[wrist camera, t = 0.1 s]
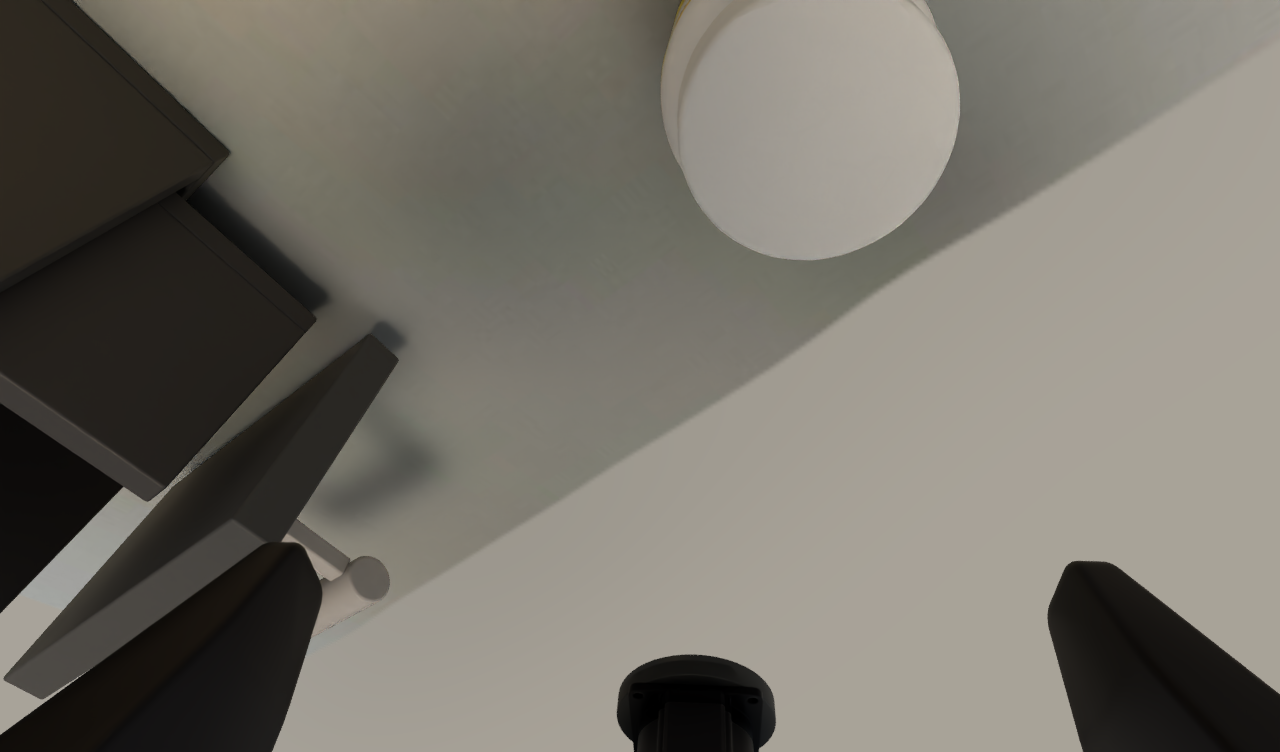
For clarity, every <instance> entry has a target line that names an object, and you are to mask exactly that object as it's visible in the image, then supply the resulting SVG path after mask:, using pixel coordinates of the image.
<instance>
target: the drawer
mask: <svg viewBox="0 0 1280 752" xmlns="http://www.w3.org/2000/svg"><path fill="white" fill-rule="evenodd" d="M315 322H316V317H315V316H314V315H313V314H311V313H310V312H309V311H308V310H307V309H306V308H305V307H304V306H303V305H301V304H300V303H299V302H298V301H297V300H296V299H295V298H294V297H292V296H291V295H290V294H289V293H288V292H287V291H286V290H285V289H283V288H282V287H281V286H280V285H279V284H278V283H277V282H276V281H274V280H273V279H272V278H271V277H270V276H269V275H268V274H267V273H266V272H264V271H263V270H262V269H261V268H260V267H259V266H258V265H257V264H255V263H254V262H253V261H252V260H251V259H250V258H249V257H248V256H246V255H245V254H244V253H243V252H242V251H241V250H240V249H239V248H238V247H236V246H235V245H234V244H233V243H232V242H231V241H230V240H229V239H227V238H226V237H225V236H224V235H223V234H222V233H221V232H220V231H218V230H217V229H216V228H215V227H214V226H213V225H212V224H211V223H210V222H208V221H207V220H206V219H205V218H204V217H203V216H202V215H201V214H199V213H198V212H197V211H196V210H195V209H194V208H193V207H192V206H190V205H189V204H188V203H187V202H186V201H185V200H184V199H183V198H182V197H180V196H179V195H178V194H177V193H176V192H175V193H173V194H171V195H169V196H168V197H166V198H164V199H162V200H161V201H159V202H157V203H155V204H154V205H152V206H150V207H148V208H147V209H145V210H143V211H142V212H140V213H138V214H136V215H135V216H133V217H131V218H129V219H128V220H126V221H124V222H122V223H121V224H119V225H117V226H115V227H114V228H112V229H110V230H108V231H107V232H105V233H103V234H101V235H100V236H98V237H96V238H95V239H93V240H91V241H89V242H88V243H86V244H84V245H82V246H81V247H79V248H77V249H75V250H74V251H72V252H70V253H68V254H67V255H65V256H63V257H61V258H60V259H58V260H56V261H54V262H53V263H51V264H49V265H47V266H46V267H44V268H42V269H41V270H39V271H37V272H35V273H34V274H32V275H30V276H28V277H27V278H25V279H23V280H21V281H20V282H18V283H16V284H14V285H13V286H11V287H9V288H7V289H6V290H4V291H2V292H0V613H1V612H2V611H3V610H4V609H5V608H6V607H7V606H8V605H9V604H10V603H11V602H12V601H13V600H14V599H15V598H16V597H17V596H18V595H19V594H20V593H21V591H22V590H23V589H24V588H25V587H26V586H27V585H28V584H29V583H30V582H31V581H32V580H33V579H34V578H35V577H36V576H37V575H38V574H39V573H40V572H41V571H42V570H43V569H44V568H45V567H46V566H47V565H48V564H49V563H50V562H51V561H52V560H53V559H54V558H55V557H56V555H57V554H58V553H59V552H60V551H61V550H62V549H63V548H64V547H65V546H66V545H67V544H68V543H69V542H70V541H71V540H72V539H73V538H74V537H75V536H76V535H77V534H78V533H79V532H80V531H81V530H82V529H83V528H84V527H85V526H86V525H87V524H88V523H89V522H90V520H91V519H92V518H93V517H94V516H95V515H96V514H97V513H98V512H99V511H100V510H101V509H102V508H103V507H104V506H105V505H106V504H107V503H108V502H109V501H110V500H111V499H112V498H113V497H114V496H115V495H116V494H117V493H118V492H119V491H120V490H121V489H122V488H123V487H125V488H127V489H128V490H130V491H131V492H133V493H134V494H136V495H137V496H139V497H140V498H141V499H143V500H144V501H150V500H151V499H152V498H154V497H155V496H156V495H158V494H159V493H160V492H161V491H163V490H164V489H165V488H166V487H167V486H168V485H169V484H170V483H171V482H172V481H173V480H174V478H175V477H176V476H177V475H178V474H179V473H180V472H181V471H182V470H183V468H184V467H185V466H186V465H187V464H188V463H189V462H190V461H191V460H192V458H193V457H194V456H195V455H196V454H197V453H198V452H199V451H200V450H201V448H202V447H203V446H204V445H205V444H206V443H207V442H208V441H209V440H210V438H211V437H212V436H213V435H214V434H215V433H216V432H217V431H218V430H219V428H220V427H221V426H222V425H223V424H224V423H225V422H226V421H227V420H228V418H229V417H230V416H231V415H232V414H233V413H234V412H235V411H236V409H237V408H238V407H239V406H240V405H241V404H242V403H243V402H244V401H245V399H246V398H247V397H248V396H249V395H250V394H251V393H252V392H253V391H254V389H255V388H256V387H257V386H258V385H259V384H260V383H261V382H262V381H263V379H264V378H265V377H266V376H267V375H268V374H269V373H270V372H271V371H272V369H273V368H274V367H275V366H276V365H277V364H278V363H279V362H280V361H281V359H282V358H283V357H284V356H285V355H286V354H287V353H288V352H289V351H290V349H291V348H292V347H293V346H294V345H295V344H296V343H297V342H298V340H299V339H300V338H301V337H302V336H303V335H304V333H306V332H307V330H308V329H309V328H310V327H311V326H312V325H313V324H314V323H315ZM398 361H399V360H398V358H397V357H396V356H395V355H394V354H392V353H391V352H390V351H389V350H388V349H387V348H386V347H385V346H384V345H383V344H382V343H380V342H379V341H378V340H377V339H376V338H375V337H374V336H373V335H371V334H370V335H368V336H366V337H365V338H364V339H363V340H361V341H360V342H359V343H357V344H356V345H355V346H353V347H352V348H351V349H350V350H348V351H347V352H346V353H344V354H343V355H342V356H341V357H339V358H338V359H337V360H335V361H334V362H333V363H332V364H330V365H329V366H328V367H326V368H325V369H324V370H323V371H321V372H320V373H319V374H317V375H316V376H315V377H314V378H312V379H311V380H310V381H308V382H307V383H306V384H305V385H303V386H302V387H301V388H299V389H298V390H297V391H296V392H294V393H293V394H292V395H290V396H289V397H288V398H287V399H285V400H284V401H283V402H281V403H280V404H279V405H278V406H276V407H275V408H274V409H272V410H271V411H270V412H269V413H267V414H266V415H265V416H263V417H262V418H261V419H260V420H258V421H257V422H256V423H254V424H253V425H252V426H251V427H249V428H248V429H247V430H245V431H244V432H243V433H242V434H240V435H239V436H238V437H236V438H235V439H234V440H233V441H231V442H230V443H229V444H227V445H226V446H225V447H223V448H222V449H221V450H220V451H218V452H217V453H216V454H214V455H213V456H212V457H211V458H209V459H208V460H207V461H205V462H204V463H203V464H202V465H200V466H199V467H198V468H196V469H195V470H194V471H193V472H191V473H190V474H189V475H187V476H186V477H185V478H184V479H182V480H181V481H180V482H178V483H177V484H176V485H175V486H173V487H172V488H171V490H170V491H169V492H168V493H167V494H166V495H165V496H164V497H163V499H162V500H161V501H160V502H159V503H158V504H157V505H156V506H155V508H154V509H153V510H152V511H151V512H150V513H149V514H148V515H147V517H146V518H145V519H144V520H143V521H142V522H141V523H140V524H139V526H138V527H137V528H136V529H135V530H134V531H133V532H132V533H131V535H130V536H129V537H128V538H127V539H126V540H125V541H124V542H123V544H122V545H121V546H120V547H119V548H118V549H117V550H116V551H115V553H114V554H113V555H112V556H111V557H110V558H109V559H108V560H107V562H106V563H105V564H104V565H103V566H102V567H101V568H100V569H99V571H98V572H97V573H96V574H95V575H94V576H93V577H92V578H91V580H90V581H89V582H88V583H87V584H86V585H85V586H84V587H83V589H82V590H81V591H80V592H79V593H78V594H77V595H76V596H75V598H74V599H73V600H72V601H71V602H70V603H69V604H68V605H67V607H66V608H65V609H64V610H63V611H62V612H61V613H60V615H59V616H58V617H57V618H56V619H55V620H54V621H53V622H52V624H51V625H50V626H49V627H48V628H47V629H46V630H45V631H44V632H43V634H42V635H41V636H40V637H39V638H38V639H37V640H36V641H35V643H34V644H33V645H32V646H31V647H30V648H29V649H28V650H27V652H26V653H25V654H24V655H23V656H22V657H21V658H20V660H19V661H18V662H17V663H16V664H15V665H14V666H13V667H12V668H11V670H10V671H9V672H8V673H7V674H6V675H5V677H4V680H5V681H7V682H8V683H10V684H12V685H14V686H16V687H18V688H20V689H22V690H24V691H26V692H28V693H30V694H32V695H33V696H35V697H37V698H39V699H44V698H46V697H47V696H49V695H51V694H52V693H54V692H55V691H57V690H58V689H60V688H61V687H63V686H64V685H66V684H67V683H69V682H71V681H72V680H74V679H76V678H77V677H79V676H80V675H82V674H83V673H85V672H86V671H88V670H90V669H91V668H93V667H94V666H96V665H97V664H98V663H100V662H101V661H103V660H104V659H105V658H107V657H108V656H109V655H111V654H112V653H114V652H115V651H116V650H118V649H119V648H120V647H122V646H123V645H125V644H126V643H127V642H129V641H130V640H131V639H133V638H134V637H136V636H137V635H138V634H140V633H141V632H142V631H144V630H145V629H147V628H148V627H149V626H151V625H152V624H153V623H155V622H156V621H158V620H159V619H160V618H162V617H163V616H164V615H166V614H167V613H169V612H170V611H171V610H173V609H174V608H175V607H177V606H178V605H180V604H181V603H182V602H184V601H185V600H186V599H188V598H189V597H191V596H192V595H193V594H195V593H196V592H197V591H199V590H200V589H202V588H203V587H204V586H206V585H207V584H208V583H210V582H211V581H213V580H214V579H215V578H217V577H218V576H219V575H221V574H222V573H224V572H225V571H226V570H228V569H229V568H230V567H232V566H233V565H235V564H236V563H237V562H239V561H240V560H241V559H243V558H244V557H246V556H247V555H248V554H250V553H251V552H252V551H254V550H255V549H257V548H258V547H260V546H261V545H263V544H265V543H268V542H296V543H299V544H301V545H302V546H303V547H304V548H305V550H306V552H307V554H308V556H309V558H310V560H311V563H312V565H313V567H314V569H315V571H317V572H318V573H319V574H321V575H322V576H324V577H325V578H323V579H321V580H320V583H321V585H322V592H323V595H322V603H321V607H320V611H319V614H318V617H317V620H316V623H315V626H314V630H313V633H312V636H311V638H312V637H314V636H316V635H318V634H319V633H321V632H323V631H325V630H327V629H329V628H330V627H332V626H334V625H336V624H338V623H340V622H342V621H343V620H345V619H347V618H349V617H351V616H353V615H355V614H356V613H358V612H360V611H362V610H364V609H366V608H368V607H369V606H371V605H373V604H375V603H377V602H379V601H380V600H382V599H383V598H384V597H385V595H386V594H387V592H388V589H389V585H390V579H389V574H388V572H387V569H386V568H385V566H384V565H383V564H382V563H381V562H380V561H379V560H377V559H376V558H373V557H370V556H362V557H359V558H357V559H355V560H353V561H352V562H350V558H348V557H347V556H346V555H344V554H343V553H342V552H340V551H339V550H338V549H336V548H335V547H333V546H332V545H331V544H329V543H328V542H327V541H325V540H324V539H323V538H321V537H320V536H319V535H317V534H316V533H314V532H313V531H312V530H310V529H309V528H308V527H306V526H305V525H304V524H302V523H301V522H300V521H298V520H297V517H298V515H299V514H300V512H301V511H302V509H303V508H304V506H305V505H306V503H307V502H308V500H309V498H310V497H311V495H312V494H313V492H314V491H315V489H316V488H317V486H318V485H319V483H320V481H321V480H322V478H323V477H324V475H325V474H326V472H327V471H328V469H329V468H330V466H331V465H332V463H333V461H334V460H335V458H336V457H337V455H338V454H339V452H340V451H341V449H342V448H343V446H344V444H345V443H346V441H347V440H348V438H349V437H350V435H351V434H352V432H353V431H354V429H355V427H356V426H357V424H358V423H359V421H360V420H361V418H362V417H363V415H364V414H365V412H366V411H367V409H368V407H369V406H370V404H371V403H372V401H373V400H374V398H375V397H376V395H377V394H378V392H379V390H380V389H381V387H382V386H383V384H384V383H385V381H386V380H387V378H388V377H389V375H390V373H391V372H392V370H393V369H394V367H395V366H396V364H397V363H398ZM349 562H350V563H349Z"/></svg>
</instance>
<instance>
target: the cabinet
mask: <svg viewBox="0 0 1280 752" xmlns="http://www.w3.org/2000/svg"><path fill="white" fill-rule="evenodd" d="M228 155H229V151H228V150H227V149H226V148H225V147H224V146H223V145H222V144H220V143H219V142H218V141H217V140H216V139H215V138H214V137H213V136H212V135H211V134H210V133H209V132H208V131H207V130H206V129H205V128H204V127H203V126H202V125H201V124H199V123H198V122H197V121H196V120H195V119H194V118H193V117H192V116H191V115H190V114H189V113H188V112H187V111H186V110H185V109H184V108H183V107H182V106H181V105H180V104H178V103H177V102H176V101H175V100H174V99H173V98H172V97H171V96H170V95H169V94H168V93H167V92H166V91H165V90H164V89H163V88H162V87H161V86H160V85H159V84H157V83H156V82H155V81H154V80H153V79H152V78H151V77H150V76H149V75H148V74H147V73H146V72H145V71H144V70H143V69H142V68H141V67H140V66H139V65H138V64H136V63H135V62H134V61H133V60H132V59H131V58H130V57H129V56H128V55H127V54H126V53H125V52H124V51H123V50H122V49H121V48H120V47H119V46H118V45H117V44H115V43H114V42H113V41H112V40H111V39H110V38H109V37H108V36H107V35H106V34H105V33H104V32H103V31H102V30H101V29H100V28H99V27H98V26H97V25H95V24H94V23H93V22H92V21H91V20H90V19H89V18H88V17H87V16H86V15H85V14H84V13H83V12H82V11H81V10H80V9H79V8H78V7H77V6H76V5H74V4H73V3H72V2H71V1H70V0H0V292H2V291H4V290H6V289H7V288H9V287H11V286H13V285H14V284H16V283H18V282H20V281H21V280H23V279H25V278H27V277H28V276H30V275H32V274H34V273H35V272H37V271H39V270H41V269H42V268H44V267H46V266H47V265H49V264H51V263H53V262H54V261H56V260H58V259H60V258H61V257H63V256H65V255H67V254H68V253H70V252H72V251H74V250H75V249H77V248H79V247H81V246H82V245H84V244H86V243H88V242H89V241H91V240H93V239H95V238H96V237H98V236H100V235H101V234H103V233H105V232H107V231H108V230H110V229H112V228H114V227H115V226H117V225H119V224H121V223H122V222H124V221H126V220H128V219H129V218H131V217H133V216H135V215H136V214H138V213H140V212H142V211H143V210H145V209H147V208H148V207H150V206H152V205H154V204H155V203H157V202H159V201H161V200H162V199H164V198H166V197H168V196H169V195H171V194H173V193H175V192H176V193H177V194H178V195H179V196H180V197H182V198H183V199H184V200H185V201H186V200H187V199H188V198H189V197H190V196H191V195H192V194H193V193H194V192H195V191H196V189H197V188H198V187H199V186H200V185H201V184H202V183H203V182H204V181H205V180H206V179H207V178H208V177H209V176H210V175H211V174H212V172H213V171H214V170H215V169H216V168H217V167H218V166H219V165H220V164H221V163H222V162H223V161H224V160H225V159H226V158H227V157H228Z"/></svg>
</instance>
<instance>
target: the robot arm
mask: <svg viewBox="0 0 1280 752" xmlns="http://www.w3.org/2000/svg"><path fill="white" fill-rule="evenodd" d="M322 595H323V592H322V585H321V583H320V580H319V578H318V576H317V574H316V571H315V569H314V567H313V565H312V563H311V560H310V558H309V556H308V554H307V552H306V550H305V548H304V547H303V546H302V545H301V544H299V543H296V542H268V543H265V544H263V545H261V546H260V547H258V548H257V549H255V550H254V551H252V552H251V553H250V554H248V555H247V556H246V557H244V558H243V559H241V560H240V561H239V562H237V563H236V564H235V565H233V566H232V567H230V568H229V569H228V570H226V571H225V572H224V573H222V574H221V575H219V576H218V577H217V578H215V579H214V580H213V581H211V582H210V583H208V584H207V585H206V586H204V587H203V588H202V589H200V590H199V591H197V592H196V593H195V594H193V595H192V596H191V597H189V598H188V599H186V600H185V601H184V602H182V603H181V604H180V605H178V606H177V607H175V608H174V609H173V610H171V611H170V612H169V613H167V614H166V615H164V616H163V617H162V618H160V619H159V620H158V621H156V622H155V623H153V624H152V625H151V626H149V627H148V628H147V629H145V630H144V631H142V632H141V633H140V634H138V635H137V636H136V637H134V638H133V639H131V640H130V641H129V642H127V643H126V644H125V645H123V646H122V647H120V648H119V649H118V650H116V651H115V652H114V653H112V654H111V655H109V656H108V657H107V658H105V659H104V660H103V661H101V662H100V663H98V664H97V665H96V666H94V667H93V668H92V669H90V670H89V671H87V672H86V673H85V674H83V675H82V676H81V677H79V678H78V679H77V680H75V681H74V682H72V683H71V684H70V685H68V686H67V687H65V688H64V689H63V690H61V691H60V692H59V693H57V694H56V695H54V696H53V697H52V698H50V699H49V700H48V701H46V702H45V703H43V704H42V705H41V706H39V707H38V708H37V709H35V710H34V711H32V712H31V713H30V714H28V715H27V716H26V717H24V718H23V719H21V720H20V721H19V722H17V723H16V724H15V725H13V726H12V727H11V728H9V729H8V730H6V731H5V732H4V733H2V734H1V735H0V752H272V750H273V748H274V745H275V743H276V740H277V738H278V735H279V733H280V731H281V728H282V726H283V723H284V720H285V717H286V714H287V711H288V709H289V706H290V703H291V700H292V696H293V693H294V690H295V687H296V684H297V680H298V677H299V674H300V671H301V668H302V665H303V661H304V658H305V655H306V652H307V649H308V645H309V642H310V639H311V636H312V633H313V630H314V626H315V623H316V620H317V617H318V614H319V611H320V607H321V603H322ZM1048 626H1049V630H1050V634H1051V638H1052V641H1053V645H1054V649H1055V652H1056V656H1057V660H1058V663H1059V667H1060V670H1061V674H1062V678H1063V681H1064V685H1065V688H1066V692H1067V696H1068V699H1069V703H1070V707H1071V710H1072V714H1073V718H1074V721H1075V725H1076V729H1077V732H1078V736H1079V740H1080V743H1081V746H1082V749H1083V752H1280V694H1279V693H1277V692H1276V691H1275V690H1274V689H1272V688H1271V687H1270V686H1268V685H1267V684H1266V683H1265V682H1263V681H1262V680H1261V679H1260V678H1258V677H1257V676H1256V675H1255V674H1253V673H1252V672H1251V671H1249V670H1248V669H1247V668H1246V667H1244V666H1243V665H1242V664H1241V663H1239V662H1238V661H1237V660H1235V659H1234V658H1232V656H1230V655H1229V654H1228V653H1226V652H1225V651H1224V650H1222V649H1221V648H1220V647H1219V646H1218V645H1216V644H1215V643H1214V642H1212V641H1211V640H1210V639H1209V638H1207V637H1206V636H1205V635H1203V634H1202V633H1201V632H1200V631H1198V630H1197V629H1196V628H1195V627H1193V626H1192V625H1191V624H1190V623H1188V622H1187V621H1186V620H1184V619H1183V618H1182V617H1181V616H1179V615H1178V614H1177V613H1176V612H1174V611H1173V610H1172V609H1170V608H1169V607H1168V606H1167V605H1165V604H1164V603H1163V602H1162V601H1160V600H1159V599H1158V598H1156V597H1155V596H1154V595H1153V594H1151V593H1150V592H1149V591H1147V590H1146V589H1145V588H1144V587H1142V586H1141V585H1140V584H1138V583H1137V582H1136V581H1134V580H1133V579H1132V578H1131V577H1130V576H1128V575H1127V574H1126V573H1124V572H1123V571H1122V570H1121V569H1119V568H1118V567H1117V566H1115V565H1113V564H1110V563H1107V562H1097V561H1074V562H1071V563H1070V564H1068V565H1067V566H1066V568H1065V570H1064V572H1063V574H1062V576H1061V579H1060V581H1059V584H1058V586H1057V588H1056V591H1055V593H1054V595H1053V598H1052V600H1051V602H1050V605H1049V608H1048ZM628 698H629V708H630V718H631V728H632V738H633V748H634V752H759V745H760V733H761V721H762V710H763V693H762V691H761V690H760V689H759V688H756V687H741V686H717V685H692V684H668V683H643V682H636V683H632V684H631V685H630V686H629V692H628Z"/></svg>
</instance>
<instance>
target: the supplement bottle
mask: <svg viewBox="0 0 1280 752" xmlns="http://www.w3.org/2000/svg"><path fill="white" fill-rule="evenodd" d="M661 109H662V117H663V123H664V128H665V132H666V136H667V139H668V142H669V145H670V147H671V150H672V152H673V154H674V156H675V158H676V160H677V162H678V164H679V165H680V167H681V169H682V170H683V173H684V176H685V179H686V182H687V184H688V187H689V189H690V191H691V193H692V195H693V197H694V199H695V200H696V202H697V204H698V205H699V207H700V208H701V209H702V210H703V212H704V213H705V214H706V216H707V217H708V218H709V219H710V221H711V222H712V223H713V224H714V225H715V226H716V227H717V228H718V229H719V230H720V231H721V232H723V233H724V234H726V235H727V236H728V237H730V238H731V239H733V240H734V241H736V242H737V243H739V244H741V245H743V246H745V247H747V248H749V249H751V250H753V251H756V252H758V253H761V254H765V255H768V256H772V257H776V258H784V259H789V260H818V259H826V258H831V257H836V256H840V255H844V254H847V253H850V252H852V251H855V250H858V249H860V248H862V247H865V246H867V245H869V244H871V243H873V242H875V241H877V240H878V239H880V238H882V237H884V236H885V235H887V234H888V233H890V232H891V231H893V230H894V229H896V228H897V227H898V226H899V225H901V224H902V223H903V222H904V221H905V220H906V219H907V218H908V217H910V216H911V215H912V214H913V213H914V212H915V211H916V210H917V209H918V208H919V206H920V205H921V204H922V203H923V202H924V201H925V199H926V198H927V197H928V195H929V194H930V193H931V191H932V190H933V189H934V187H935V185H936V184H937V182H938V180H939V179H940V177H941V175H942V173H943V171H944V169H945V167H946V165H947V163H948V160H949V158H950V155H951V152H952V150H953V147H954V143H955V139H956V135H957V129H958V123H959V117H960V91H959V82H958V75H957V72H956V68H955V65H954V62H953V59H952V56H951V53H950V51H949V48H948V46H947V44H946V42H945V40H944V39H943V37H942V35H941V33H940V32H939V31H938V29H937V27H936V24H935V21H934V18H933V16H932V13H931V11H930V9H929V7H928V5H927V3H926V1H925V0H681V1H680V4H679V7H678V10H677V13H676V17H675V21H674V24H673V28H672V32H671V36H670V39H669V43H668V46H667V49H666V53H665V57H664V61H663V66H662V74H661Z"/></svg>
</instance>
